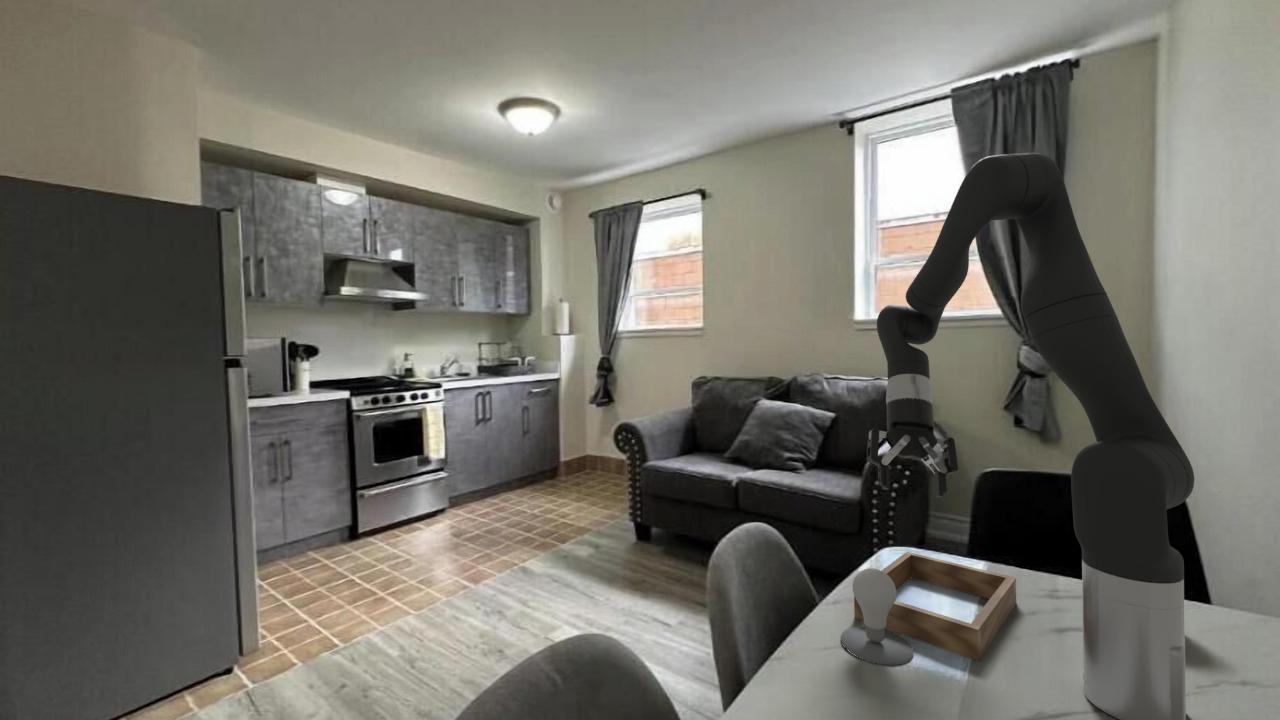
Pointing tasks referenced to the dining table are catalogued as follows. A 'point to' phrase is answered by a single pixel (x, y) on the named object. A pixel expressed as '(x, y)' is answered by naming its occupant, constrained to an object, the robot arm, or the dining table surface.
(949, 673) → the dining table surface
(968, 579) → the shallow wooden tray
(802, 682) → the dining table surface
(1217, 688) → the dining table surface
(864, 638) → the mat
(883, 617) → the lightbulb
